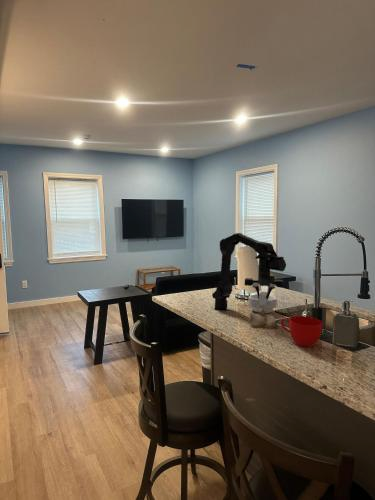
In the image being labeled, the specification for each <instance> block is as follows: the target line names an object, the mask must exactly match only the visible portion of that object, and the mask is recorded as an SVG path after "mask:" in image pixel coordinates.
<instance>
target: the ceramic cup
mask: <svg viewBox="0 0 375 500" xmlns="http://www.w3.org/2000/svg"><path fill="white" fill-rule="evenodd" d="M284 321H286V322H287V323H288V325H289V328H287V327H286V326H285V324H284ZM280 324H281V327H282V329H284V331H286V332H288V333H289V334H290V336H291V338H292V340H293V341H294V343H295V345H297V346H299V345H300V346H299V347H302V346H304V347H303V348H311V347H310V346H312V347H313V346H314V345H316V343H317V342H318V341H319V340H320V338H321V335H322V332H323V325H324V324H323V321H322V320H320V319H318V318H315V317H311V316H306V315H305V316H304V315H294V316H291V317H290V318H289V319H288V318H282V319H281V321H280Z"/></svg>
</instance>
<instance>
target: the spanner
mask: <svg viewBox="0 0 375 500" xmlns="http://www.w3.org/2000/svg"><path fill="white" fill-rule="evenodd" d="M259 294H260V295H259V304H261V305H266V301H267V291H259Z"/></svg>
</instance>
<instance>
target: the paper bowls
mask: <svg viewBox="0 0 375 500" xmlns="http://www.w3.org/2000/svg"><path fill="white" fill-rule="evenodd" d="M277 302H278V299H277V298H276V297H275V296H272V295H269V298H268V300H267V301H266V305H261V304H259V299H258V295H257V294H251V295H249V296H248V306H249V307H251V309H252V311H253V312H254V313H255V312H256V313H257V314H260V309H264V314H269V313H271V312H273V310H274V309H277Z"/></svg>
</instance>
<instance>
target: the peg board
mask: <svg viewBox="0 0 375 500" xmlns="http://www.w3.org/2000/svg"><path fill="white" fill-rule="evenodd" d="M249 317H250V325H251V327H252V328H260V329H261V328H262V329H275V330H278V329H279V327H278V326H279V325H278V323H277V321H276V318H275V315H274V314H269V313H264V309H260V313H251V312H250V313H249Z"/></svg>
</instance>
